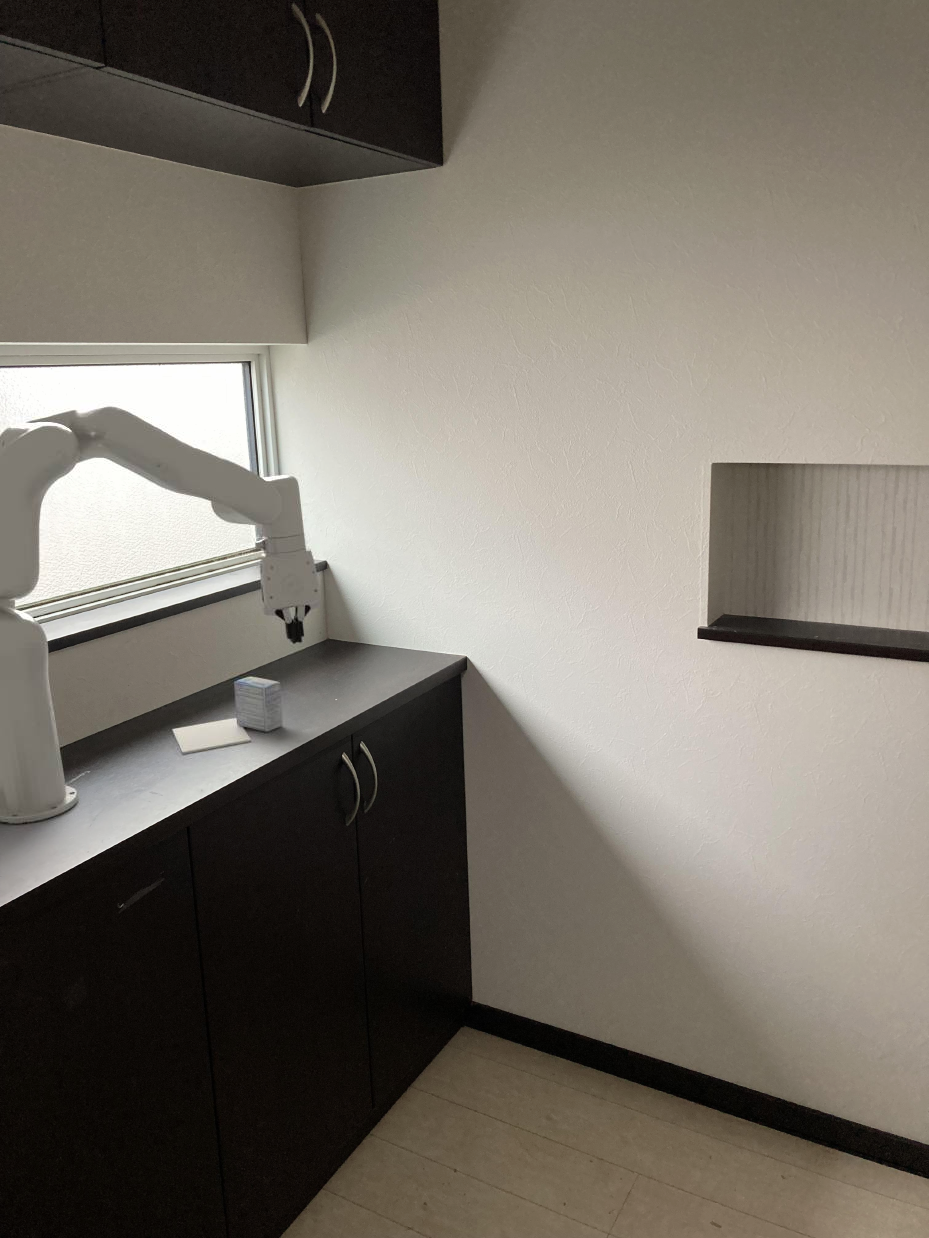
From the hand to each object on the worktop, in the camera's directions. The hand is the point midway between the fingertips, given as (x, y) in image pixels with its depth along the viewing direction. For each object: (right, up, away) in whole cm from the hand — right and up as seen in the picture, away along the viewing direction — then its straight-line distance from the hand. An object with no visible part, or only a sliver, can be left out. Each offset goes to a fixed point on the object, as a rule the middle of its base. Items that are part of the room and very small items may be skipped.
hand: (296, 641), depth 190 cm
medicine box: (-7, -16, 0) cm, 17 cm away
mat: (-15, -17, -3) cm, 23 cm away
